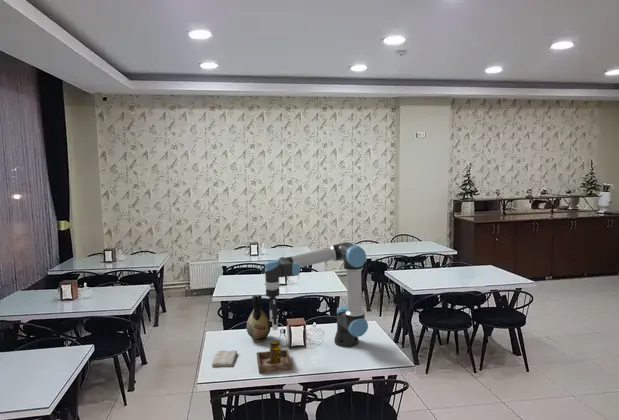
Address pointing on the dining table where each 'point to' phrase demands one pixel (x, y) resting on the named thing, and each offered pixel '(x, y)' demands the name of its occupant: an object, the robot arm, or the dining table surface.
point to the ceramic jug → (258, 322)
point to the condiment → (274, 353)
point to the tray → (265, 368)
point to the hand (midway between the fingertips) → (273, 325)
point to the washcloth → (224, 358)
